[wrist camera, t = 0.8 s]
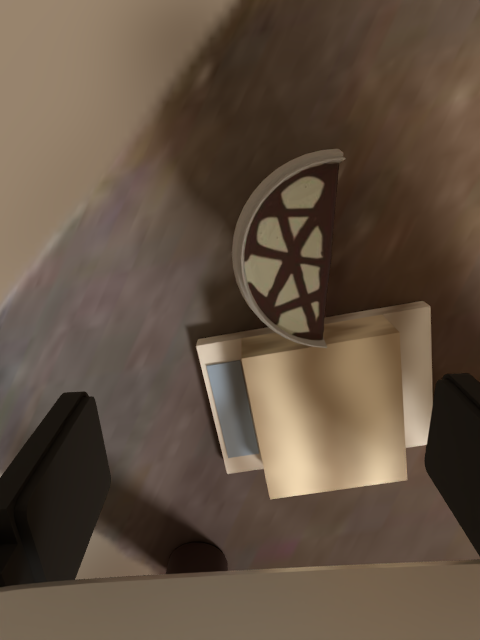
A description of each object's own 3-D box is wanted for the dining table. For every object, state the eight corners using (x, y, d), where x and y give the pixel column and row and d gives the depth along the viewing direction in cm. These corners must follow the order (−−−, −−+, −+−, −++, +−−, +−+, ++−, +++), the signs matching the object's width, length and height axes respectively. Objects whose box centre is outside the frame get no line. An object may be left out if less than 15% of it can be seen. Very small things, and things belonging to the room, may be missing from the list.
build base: (422, 300, 35) (454, 323, 30) (426, 433, 40) (454, 473, 35) (197, 339, 36) (190, 367, 31) (227, 463, 41) (225, 505, 36)
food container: (235, 152, 31) (231, 144, 22) (315, 153, 31) (347, 146, 22) (233, 305, 35) (230, 354, 26) (303, 306, 35) (326, 355, 26)
